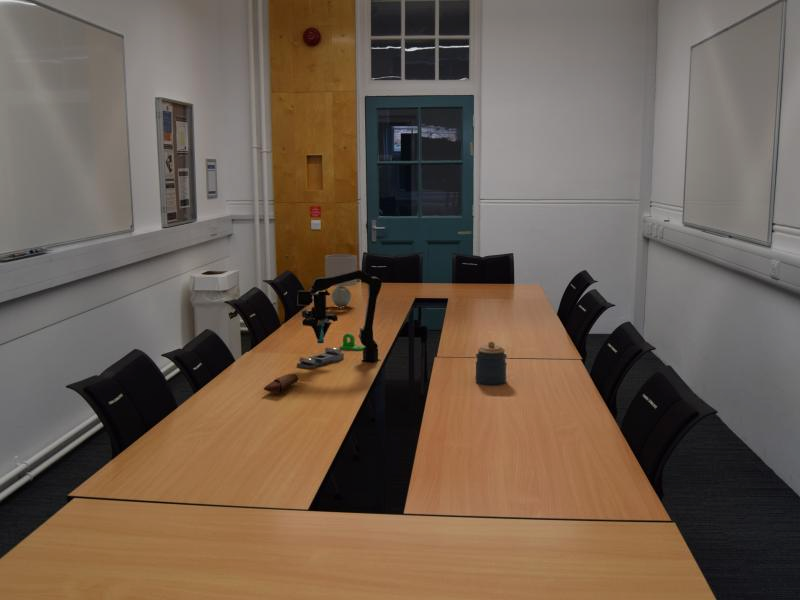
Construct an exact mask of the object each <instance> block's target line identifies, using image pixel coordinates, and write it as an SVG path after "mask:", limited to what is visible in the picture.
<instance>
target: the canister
mask: <svg viewBox="0 0 800 600" xmlns="http://www.w3.org/2000/svg"><path fill="white" fill-rule="evenodd" d="M487 343H488V344H487V345H485V344H484V345H481V346H480V347H478V348H477V353H476V354H475V357H476V361H475V377H474V378H475V379H474V380H475V383H476V384H478V385H482V386H489V387H490V386H491V387H494V386H495V387H496V386H502V385H505V384H506V382H507V364H508V363H507V362H506V360H507V356H508V355H507V354H506V353H505V352H506V350H505V348H503V347H502V346H501V345H495V342H494V341H489V342H487Z"/></svg>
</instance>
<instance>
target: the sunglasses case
mask: <svg viewBox="0 0 800 600" xmlns="http://www.w3.org/2000/svg"><path fill="white" fill-rule="evenodd" d="M298 381H299V377H298V375H297V374H296V373H290V374H285V375H282V376H279V377H277V378H275V379H273V381H271V382H269V383H268V384H267V385H266V386H264V388H263V390H264V391H266V392H270V393H273V394H278V395H279V394H281V393H283V392H284V391H285V390H286V389H288V388H289V387H291V386H292V385H294V384H295V383H297V382H298Z"/></svg>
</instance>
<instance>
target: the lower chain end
mask: <svg viewBox="0 0 800 600" xmlns="http://www.w3.org/2000/svg"><path fill="white" fill-rule="evenodd" d="M333 363H334V362H333V360H329V361H326V362H322V363H321V362H316V360H315V359H309V358H308V357H299V361H298V363H296V368H301V369H307V370H312V369H316V368H319V367H322V366H326V365H329V364H333Z"/></svg>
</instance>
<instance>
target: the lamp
mask: <svg viewBox="0 0 800 600" xmlns="http://www.w3.org/2000/svg"><path fill="white" fill-rule="evenodd" d="M357 262H358V256H357V255H356V254H329V255H325V256H324V265H325V267H324V268H325V269H324V270H325V271H324V272H325V277H332V276H336V275H340V274H344V273H348V272H352V271H355V270H357V269H358V266H357V265H358V263H357ZM357 285H358V279H355V280H351V281H347V282H344V283H340V284H336V285H333V286H332V287H336V288H334V289H333V291H332V293H331V294H330V296H331V297H330V298H331V301H332V303H333V305H334V306H338V307H343V306H346V307H347V306H349V304H350V303H351V301H352V293H351V291H350V289H348V288H347V287H351V286H357Z"/></svg>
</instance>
